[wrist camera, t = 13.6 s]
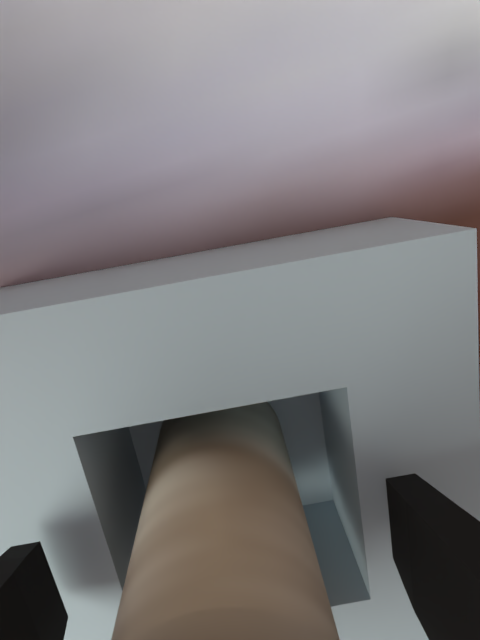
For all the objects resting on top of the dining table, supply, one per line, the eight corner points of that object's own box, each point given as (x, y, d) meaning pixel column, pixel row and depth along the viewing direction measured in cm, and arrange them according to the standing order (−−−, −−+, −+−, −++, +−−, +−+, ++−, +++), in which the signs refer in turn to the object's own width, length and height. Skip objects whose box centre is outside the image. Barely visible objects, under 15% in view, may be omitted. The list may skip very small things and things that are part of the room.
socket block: (103, 586, 15) (59, 738, 11) (2, 285, 12) (-114, 335, 8) (409, 530, 15) (483, 661, 11) (385, 216, 12) (477, 228, 8)
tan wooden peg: (170, 498, 13) (124, 803, 7) (149, 392, 12) (71, 627, 6) (286, 482, 13) (356, 769, 7) (275, 375, 12) (345, 589, 6)
